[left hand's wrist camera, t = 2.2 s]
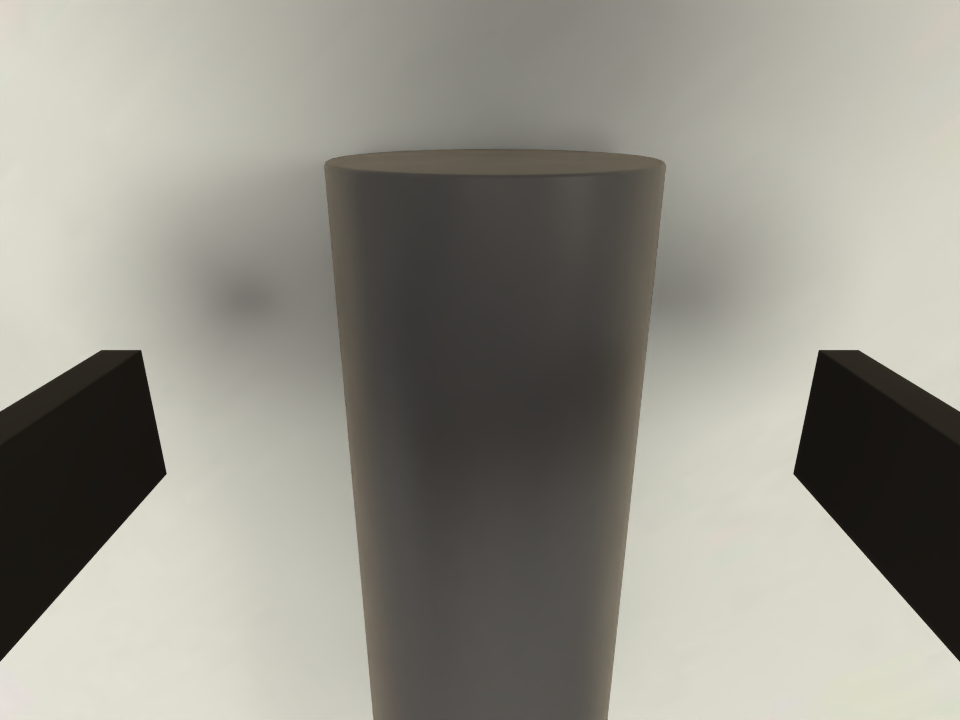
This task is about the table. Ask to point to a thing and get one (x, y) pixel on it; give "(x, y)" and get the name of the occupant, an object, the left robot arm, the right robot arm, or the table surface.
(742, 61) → the table surface
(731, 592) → the table surface
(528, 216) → the rod
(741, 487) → the table surface
